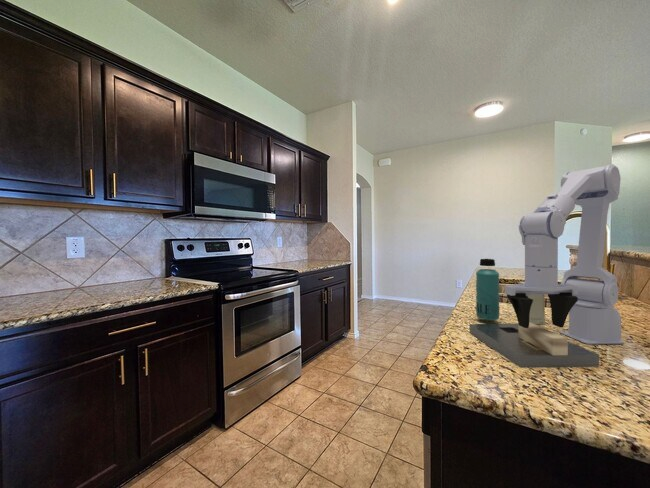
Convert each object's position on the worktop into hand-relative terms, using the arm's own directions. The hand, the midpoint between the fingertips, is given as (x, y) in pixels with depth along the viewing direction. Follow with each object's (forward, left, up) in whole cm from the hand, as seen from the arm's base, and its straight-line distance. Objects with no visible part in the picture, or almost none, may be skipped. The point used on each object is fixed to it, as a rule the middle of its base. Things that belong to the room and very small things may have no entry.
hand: (540, 326), depth 60 cm
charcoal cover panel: (0, -5, -7) cm, 8 cm away
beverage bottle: (-3, -24, -7) cm, 26 cm away
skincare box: (-16, -24, -7) cm, 30 cm away
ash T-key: (0, 0, -7) cm, 7 cm away
